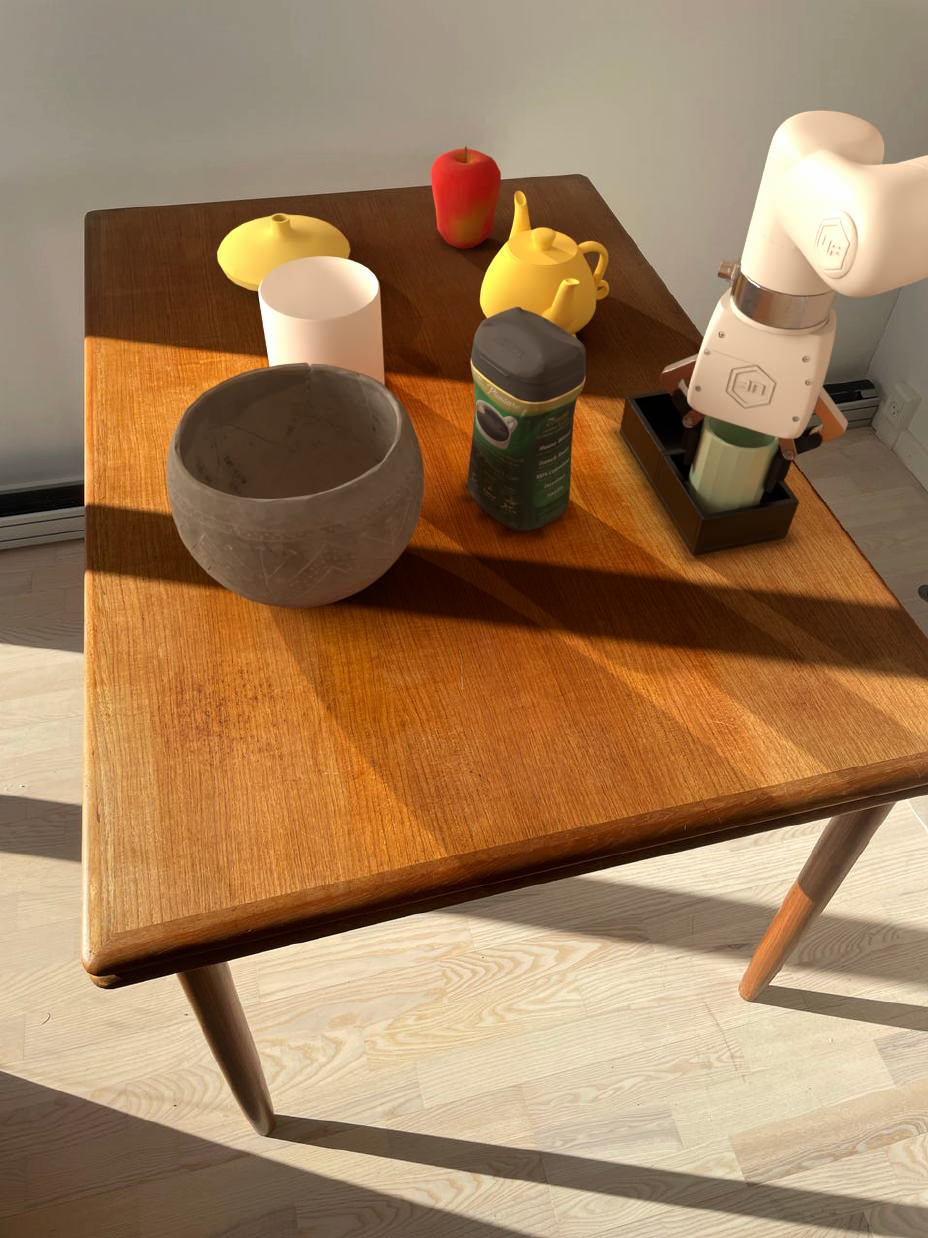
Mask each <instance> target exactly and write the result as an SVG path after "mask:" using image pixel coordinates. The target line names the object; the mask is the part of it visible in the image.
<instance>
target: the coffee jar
mask: <svg viewBox="0 0 928 1238" xmlns="http://www.w3.org/2000/svg"><path fill="white" fill-rule="evenodd" d="M586 357H587V356H586V347H585V345H584V344H583V342H581V341H580V340H579V339H578V338H575V337H574V336H572V335H571V334H569V333H568V332H567V331H565V330H564V329H562V328H561V327H559V326H557V325H556V324H554V323H552V322H551V321H549V320H548V319H546V318H544V317H542V316H540V315H538V314H535V313H533V312H530V311H527V310H523V309H522V308H521V307H514V308H511V309H508V310H506V311H503V312H500V313H498V314H495V315H493V316H491V317H489V318H487V317H486V318H485V319H484V320H482V321H481V323H480V324H479V326H478V328H477V329H476V331H475V334H474V338H473V344H472V349H471V355H470V368H471V374H472V380H473V386H474V411H473V424H472V434H471V435H472V436H471V437H472V438H471V446H470V455H469V463H468V471H467V472H468V473H467V490H468V493H469V495H470V496H471V498H472V499H473V500H474V501H475V502H476V503H477V505H478V506H479V507H480V508H481V509H482V510H483V511H485V512H486V513H487V515H490V516H491V517H492V519H494V520H496V521H497V522H498V523H500V524H502V525H503V526H504V527H506V528H508V529H510V530H512V531H517V532H528V531H533V530H534V531H535V530H538V529H542V528H544V527H546V526H547V525H550V524H551V523H553V522H554V521H556V520H558V519H559V517H561V516H562V515H564V513H565V512H566V510H567V509H568V507H569V503H570V494H571V483H572V478H571V477H572V449H573V437H574V436H573V435H574V418H575V409H576V405H577V400H578V398H579V396H580V394H581V393H582V391H583V388H584V386H585V382H586V369H587V367H586Z"/></svg>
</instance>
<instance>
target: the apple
mask: <svg viewBox="0 0 928 1238" xmlns="http://www.w3.org/2000/svg"><path fill="white" fill-rule="evenodd" d="M430 179H431V190H432V196H433V201H434V208H435V216H436V227H437V231H438V232H439V234H440V235H441V237H442V238H443V239H444V241H445V242H446V243H447V244H449V245H450V246H451V247H454V248H456V249H463V250H467V249H473V248H475V247H477V246H478V245H480V244H481V243H482V242H484V241H485V240H486V239H488V238H489V237H490V235H491V234H492V233H493V229H494V228H493V227H494V221H495V215H496V211H497V205H498V202H499V201H498V200H499V197H500V191H501V180H502V172H501V169H500V168H499V166H498V164H497V162H496V160H495V159H493V157H492V156H489V155H488V154H485V153H483V152H481V151H480V150H479V151H478V150H475V149H471V148H468V146H467V145H466V146H464V148H458V149H453V150H451V151H447V152H445V153H444V152H443V153H441V154H440V155H439V156H437V158H436V159H435V161H434V163H433V165H432V166H431V168H430Z"/></svg>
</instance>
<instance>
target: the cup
mask: <svg viewBox="0 0 928 1238" xmlns="http://www.w3.org/2000/svg"><path fill="white" fill-rule="evenodd" d="M258 299H259V307H260V311H261V313H260V314H261V320H262V327H263V332H264V339H265V345H266V350H267V357H268V364H269V367H270V366H276V365H282V364H292V363H308V364H309V366H310V365H311V364H326V365H331V366H335V367H340V368H344V369H348V370H351V371H355V372H358V373H359V374H360V373H362V374H365V375H367V376H370V377H372V378H373V379H375V380H377V381H379V382H381V383H382V384H383V385H384V386H385V387H386V383H385V363H384V343H383V324H382V323H383V322H382V321H383V320H382V305H381V303H382V302H381V285H380V281H379V280H378V278H377V276H376V275H375V274H374V273H373V272H372V271H371V270H370V269H369V268H368V267H366V266H364V265H363V264H361V263H359V262H356V261H354V260H352V259H349V258H348V259H343V258H338V257H329V256H316V257H307V258H301V259H297V260H293V261H290V262H287V263H284V264H282V265H280V266H278V267H277V268H275V269H273V270H272V271H271V272H269V273H268V274H267V275H266V277H265V278H264V279H263V280H262V282H261V284H260V287H259V292H258Z"/></svg>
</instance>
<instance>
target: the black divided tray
mask: <svg viewBox="0 0 928 1238" xmlns="http://www.w3.org/2000/svg"><path fill="white" fill-rule="evenodd" d="M697 388H698V387H697ZM699 389H700V388H699ZM671 397H672V396H671V395H670V393H668V391H667V390H666V389H663V390H656V391H649V392H644V393H637V394H629V395H626V396H625V400H624V406H623V410H622V417H621V423H620V428H619V434H620V436H621V437H622V439H623V441H624V443H625V444H626V446H627V448H628V449H629V451H630V453H631V454H632V456H633V458H634V460H635V461H636V463H637V465H638V466H639V468H640V470H641V472H642V473H643V475H644V476H645V478H646V480H647V482H648V483H649V485H650V486H651V488H652V489H653V491H654V493H655V495H656V497H657V498H658V500H659V502H660V504H661V505H662V507H663V508H664V510H665V513H667V515H668V518H670V520H671V522H672V523H673V525H674V527H675V529H676V530H677V533H678V534H679V535H680V537H681V539H682V540H683V542H684V544H685V545H686V547H687V549H688V550H689V552H690V554H691V555H692V556H693V557H695V556H700V555H705V554H710V553H716V552H721V551H725V550H731V549H736V548H741V547H747V546H751V545H757V544H761V543H767V542H772V541H777V540H781V539H786V538H787V536H788V532H789V530H790V527H791V525H792V522H793V521H794V520H793V519H794V517H795V514H796V513H797V509H798V507H799V504H800V500H799V498H798V497H797V496H796V494H795V493H794V492H793V491H792V489H791V487H789V485H788V483H787V482H786V480H785V481H784V483H783V482H780V481H777V480H776V482H775V485H774V487H773V489H772V491H771V493H769V492H766V491H764V494H763V497H762V499H761V502H760V504H759V505H753V506H748V507H743V508H737V509H732V510H727V511H721V512H716V513H711V514H706V513H705V511H704V510H703V508H702V507H701V505H700V503H699V502H698V500H697V499H696V497H695V495H694V494H693V492H692V491H691V489H690V488H689V486H688V478H689V474H690V470H691V466H692V464H691V465H690V464H689V465H685V464H683V460H684V456H685V452H686V450H683V449H680V446H681V442H682V438H683V434H684V430H685V426H684V425H683V423H682V419H683V417H682V415H681V414H680V413H679V411H678V410H677V408H676V407H675V405H674V404H673V402H672V400H671ZM692 463H693V462H692Z"/></svg>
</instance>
